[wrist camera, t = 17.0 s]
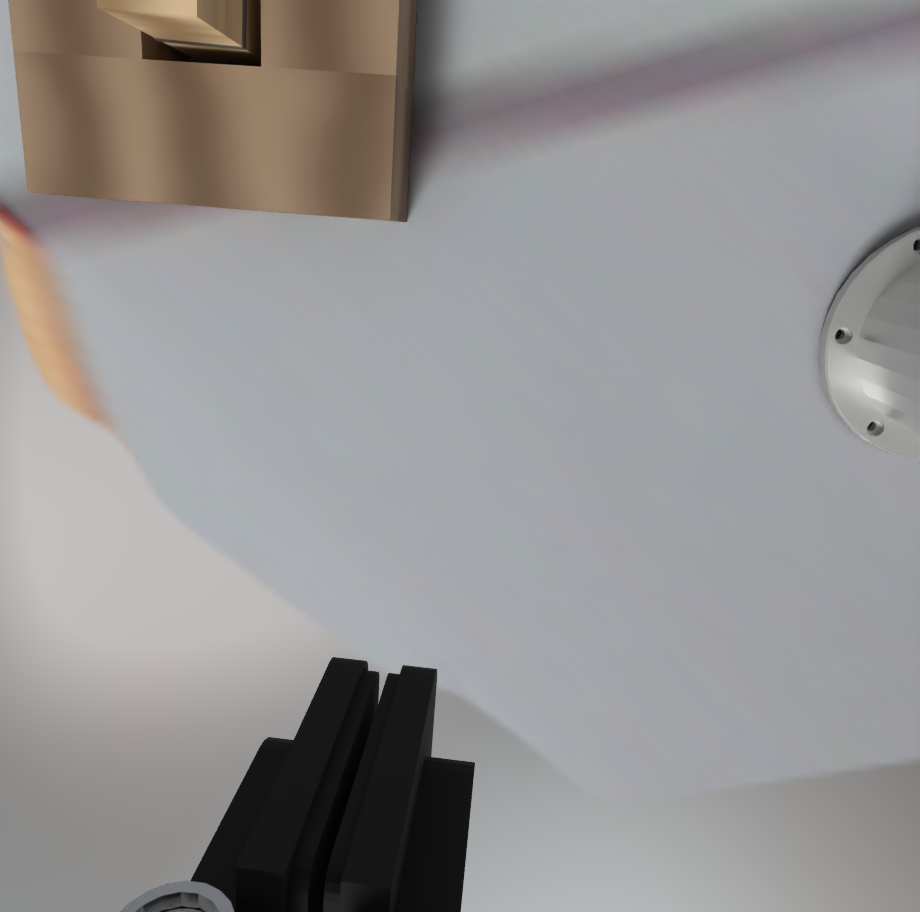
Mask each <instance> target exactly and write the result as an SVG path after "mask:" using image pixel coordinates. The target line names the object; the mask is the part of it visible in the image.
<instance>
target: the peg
mask: <svg viewBox="0 0 920 912" xmlns="http://www.w3.org/2000/svg"><path fill="white" fill-rule="evenodd" d="M97 7H98V8H100V9H101V10H103V11H105V12H107V13H109V14H111V15H113V16H115V17H116V18H118V19H120V20H122V21H124V22H126V23H128V24H130V25H131V26H133V27H135V28H137V29H139V30H141V31H143V32H145V33H147V34H148V35H150V36H152V37H154V39H155V40H156V41H158V42H163V43H165V44H167V45H169V46H171V47H173V48H175V49H177V50H178V51H180V52H182V53H184V54H186V55H188V56H190V57H192V58H193V59H195V60H197V61H199V62H201V63H210V64H226V65H242V66H257V67H261V0H97Z"/></svg>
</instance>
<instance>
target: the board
mask: <svg viewBox="0 0 920 912" xmlns="http://www.w3.org/2000/svg"><path fill="white" fill-rule="evenodd" d="M8 2H9V12H10V22H11V32H12V41H13V51H14V61H15V71H16V81H17V91H18V101H19V110H20V120H21V130H22V140H23V150H24V160H25V170H26V179H27V189H28V193H40V194H51V195H63V196H74V197H86V198H99V199H112V200H125V201H138V202H151V203H164V204H178V205H191V206H204V207H217V208H230V209H243V210H256V211H269V212H282V213H295V214H308V215H321V216H334V217H347V218H361V219H374V220H387V221H400V222H407V204H408V183H409V162H410V142H411V121H412V100H413V80H414V59H415V38H416V18H417V0H261V67H257V66H242V65H226V64H210V63H195V62H190V56H188V55H186V54H184V53H182V52H180V51H178V50H177V49H175V48H173V47H171V46H169V45H167V44H165V43H163V42H158V41H156V40H155V39H154V37H152V36H150V35H148V34H147V33H145V32H143V31H141V30H139V29H137V28H135V27H133V26H131V25H130V24H128V23H126V22H124V21H122V20H120V19H118V18H116V17H115V16H113V15H111V14H109V13H107V12H105V11H103V10H101V9H100V8H98V7H97V0H8Z"/></svg>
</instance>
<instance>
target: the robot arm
mask: <svg viewBox="0 0 920 912" xmlns="http://www.w3.org/2000/svg"><path fill="white" fill-rule="evenodd" d="M915 241H917V242H918V246H917V248H916V249H915V250H914V249H913V244H914V242H915ZM838 330H841V336H840V337H839V338H835V334H836V333H837V331H838ZM819 367H820V374H821V382H822V384H823V387H824V390H825V393H826V396H827V399H828V401H829V403H830V404H831V406H832V408H833V409H834V411H835V412H836V414H837V416H838V417H839V419H840V420H841V421H842V422H843V423H844V424H845V425H846V426H847V427H848V428H849V429H850V430H851V431H852V432H853V433H855V434H856V435H858V436H859V437H861V438H862V439H864V440H865V441H867V442H868V443H870V444H872V445H874V446H876V447H878V448H880V449H882V450H884V451H885V452H887V453H891V454H895V455H898V456H902V457H905V458H909V459H920V226H919V227H916V228H913V229H911V230H909V231H907V232H905V233H903V234H901V235H899V236H897V237H895V238H893V239H891V240H890V241H888V242H887V243H886V244H884V245H883V246H882V247H880V248H879V249H877V250H876V251H875V252H873V253H872V254H870V255H869V256H868V257H867V258H866V259H865V260H864V261H863V262H862V263H861V264H860V265H859V266H858V267H857V268H856V269H855V270H854V271H853V272H852V273H851V275H850V276H849V278H848V279H847V280H846V282H845V283H844V285H843V286H842V287H841V289H840V290H839V292H838V293H837V295H836V297H835V299H834V301H833V303H832V305H831V307H830V309H829V311H828V314H827V316H826V319H825V323H824V327H823V330H822V334H821V338H820V350H819ZM871 422H872V426H871V427H870V428H868V429H867V427H868V425H869V424H870V423H871ZM436 683H437V669H431V668H422V667H414V666H405V665H403V667H402V669H401V673H400V674H392V673H389V674H388V676H387V679H386V682H385V685H384V688H383V691H382V695H381V698H380V701H379V704H378V695H379V672H375V671H368V663H367V661H362V660H353V659H344V658H336V657H333V658H332V659H331V661H330V662H329V664H328V667H327V669H326V671H325V673H324V676H323V678H322V680H321V682H320V684H319V686H318V689H317V691H316V693H315V695H314V697H313V699H312V701H311V704H310V706H309V708H308V710H307V712H306V715H305V717H304V719H303V721H302V723H301V725H300V728H299V730H298V732H297V734H296V736H295V738H294V740H288V739H280V738H271V737H268V738H267V739H265V740H264V742H263V743H262V745H261V746H260V748H259V750H258V752H257V754H256V756H255V758H254V760H253V762H252V764H251V765H250V768H249V769H248V771H247V773H246V775H245V777H244V779H243V781H242V783H241V785H240V786H239V789H238V790H237V792H236V794H235V796H234V798H233V800H232V802H231V804H230V806H229V808H228V810H227V812H226V813H225V815H224V817H223V819H222V821H221V823H220V825H219V827H218V829H217V831H216V833H215V835H214V837H213V838H212V841H211V842H210V844H209V846H208V848H207V850H206V852H205V854H204V856H203V858H202V860H201V862H200V864H199V865H198V867H197V870H196V871H195V873H194V875H193V877H192V879H191V881H183V882H175V883H167V884H165V885H162V886H159V887H157V888H154V889H151V890H149V891H147V892H145V893H144V894H142V895H140V896H139V897H138V898H136V899H134V900H133V901H131V902H130V903H128V904H127V905H126V906H125V907H124V908H123V909H122V910H121V911H120V912H460V911H461V901H462V891H463V880H464V871H465V860H466V850H467V849H466V848H467V839H468V828H469V819H470V808H471V798H472V787H473V777H474V767H475V763H474V762H466V761H458V760H450V759H442V758H433V757H431V750H432V737H433V723H434V709H435V696H436Z"/></svg>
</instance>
